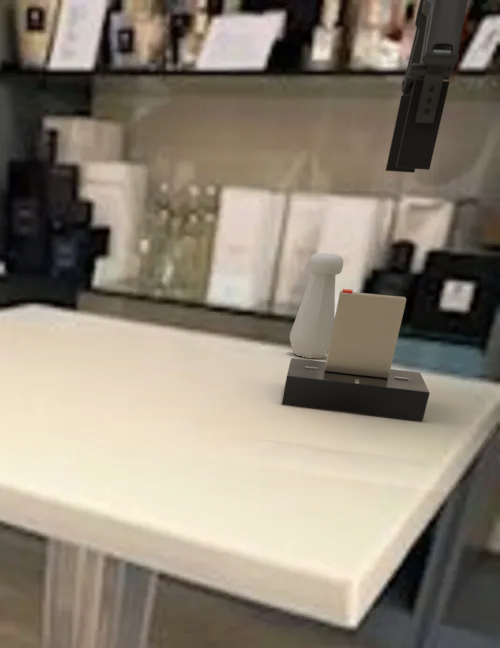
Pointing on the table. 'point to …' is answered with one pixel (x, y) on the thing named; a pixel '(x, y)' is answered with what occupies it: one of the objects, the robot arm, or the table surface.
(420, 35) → the robot arm
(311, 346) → the salt shaker
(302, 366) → the rectangular base
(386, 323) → the beige rectangular block
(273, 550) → the table surface
